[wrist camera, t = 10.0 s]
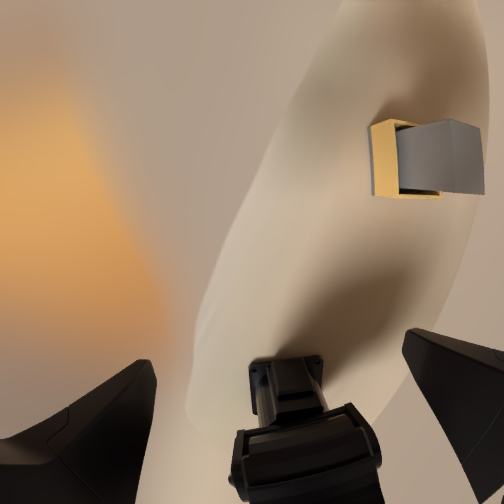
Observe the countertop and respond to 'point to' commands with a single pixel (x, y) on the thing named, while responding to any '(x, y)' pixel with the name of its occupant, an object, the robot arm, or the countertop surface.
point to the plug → (441, 157)
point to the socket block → (390, 162)
